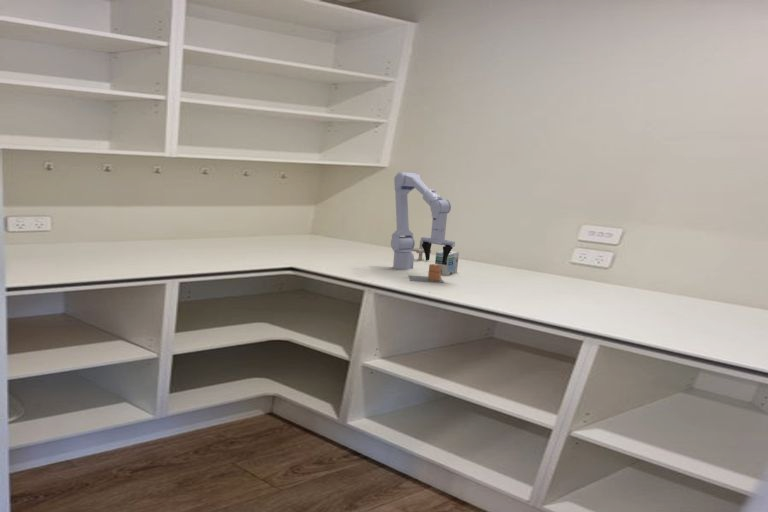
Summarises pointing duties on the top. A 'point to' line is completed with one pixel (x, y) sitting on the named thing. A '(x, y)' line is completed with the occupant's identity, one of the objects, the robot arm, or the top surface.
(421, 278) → the faceplate
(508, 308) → the top surface
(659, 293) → the top surface
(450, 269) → the light bulb box
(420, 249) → the pipe connector
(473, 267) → the top surface
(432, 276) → the knob
